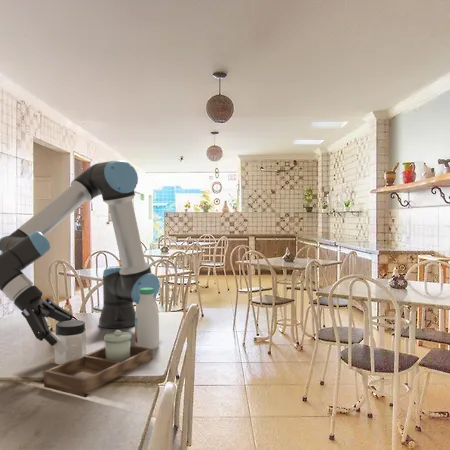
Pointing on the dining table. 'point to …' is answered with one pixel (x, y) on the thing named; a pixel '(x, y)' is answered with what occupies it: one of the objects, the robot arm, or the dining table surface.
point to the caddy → (92, 370)
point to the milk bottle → (147, 321)
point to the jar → (71, 340)
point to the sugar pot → (117, 346)
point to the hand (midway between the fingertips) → (74, 344)
